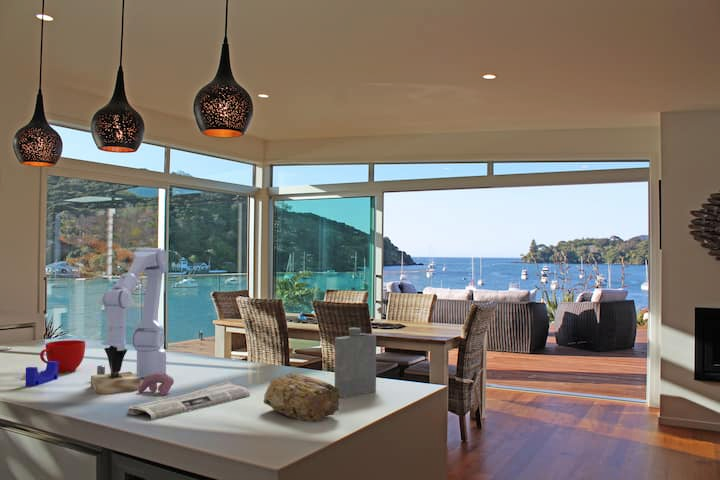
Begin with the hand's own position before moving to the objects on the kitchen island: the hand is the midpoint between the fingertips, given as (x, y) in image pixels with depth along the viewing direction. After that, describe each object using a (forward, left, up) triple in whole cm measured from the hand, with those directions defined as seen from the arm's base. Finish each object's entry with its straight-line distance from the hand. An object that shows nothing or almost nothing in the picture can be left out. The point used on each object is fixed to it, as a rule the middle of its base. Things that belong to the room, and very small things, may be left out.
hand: (115, 370), depth 197 cm
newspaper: (-14, +32, -6) cm, 36 cm away
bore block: (0, 0, -5) cm, 5 cm away
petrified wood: (-34, +60, -6) cm, 69 cm away
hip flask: (-59, +47, -6) cm, 76 cm away
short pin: (+1, -16, -5) cm, 17 cm away
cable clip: (+18, -22, -6) cm, 29 cm away
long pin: (0, 0, -3) cm, 3 cm away
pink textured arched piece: (-9, +13, -6) cm, 17 cm away
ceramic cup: (+10, -38, -6) cm, 40 cm away
